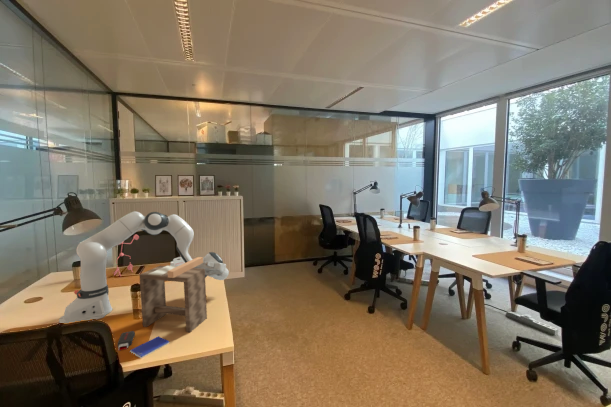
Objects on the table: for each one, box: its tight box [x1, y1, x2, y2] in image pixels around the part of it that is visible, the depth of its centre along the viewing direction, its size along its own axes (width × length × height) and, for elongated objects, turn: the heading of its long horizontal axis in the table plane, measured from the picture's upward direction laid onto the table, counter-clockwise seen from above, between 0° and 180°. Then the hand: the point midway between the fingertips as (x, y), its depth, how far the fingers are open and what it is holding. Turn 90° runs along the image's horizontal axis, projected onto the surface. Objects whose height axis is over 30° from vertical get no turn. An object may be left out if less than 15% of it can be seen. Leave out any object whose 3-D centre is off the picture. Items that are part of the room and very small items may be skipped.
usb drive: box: [117, 330, 136, 351], centre depth 129 cm, size 5×12×3 cm, turn 22°
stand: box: [139, 264, 208, 333], centre depth 145 cm, size 14×26×26 cm, turn 77°
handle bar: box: [168, 256, 204, 278], centre depth 146 cm, size 24×3×3 cm, turn 167°
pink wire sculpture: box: [113, 233, 140, 277], centre depth 221 cm, size 15×26×35 cm, turn 152°
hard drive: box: [129, 336, 170, 359], centre depth 125 cm, size 2×8×12 cm
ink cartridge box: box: [169, 256, 185, 266], centre depth 212 cm, size 9×5×15 cm, turn 143°
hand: (199, 262), depth 157 cm, fingers open, 8 cm apart
